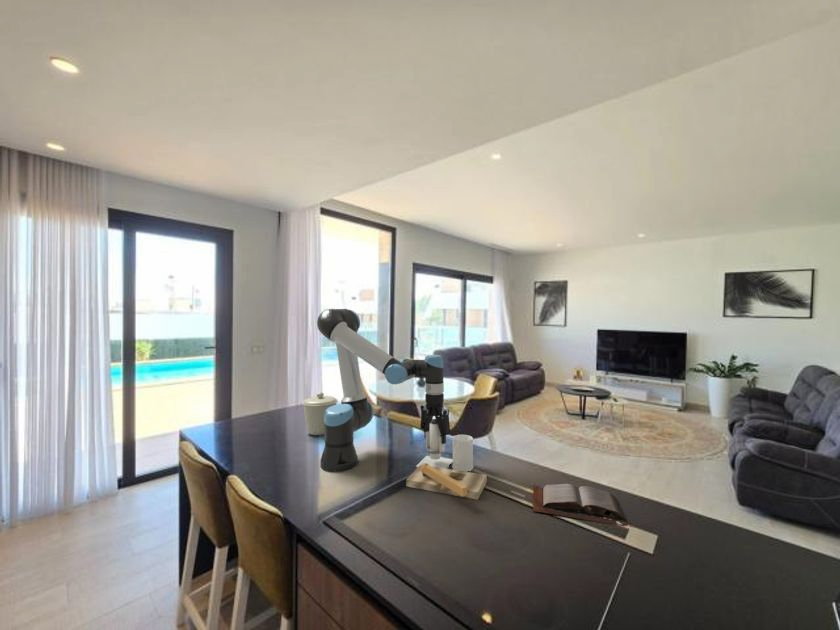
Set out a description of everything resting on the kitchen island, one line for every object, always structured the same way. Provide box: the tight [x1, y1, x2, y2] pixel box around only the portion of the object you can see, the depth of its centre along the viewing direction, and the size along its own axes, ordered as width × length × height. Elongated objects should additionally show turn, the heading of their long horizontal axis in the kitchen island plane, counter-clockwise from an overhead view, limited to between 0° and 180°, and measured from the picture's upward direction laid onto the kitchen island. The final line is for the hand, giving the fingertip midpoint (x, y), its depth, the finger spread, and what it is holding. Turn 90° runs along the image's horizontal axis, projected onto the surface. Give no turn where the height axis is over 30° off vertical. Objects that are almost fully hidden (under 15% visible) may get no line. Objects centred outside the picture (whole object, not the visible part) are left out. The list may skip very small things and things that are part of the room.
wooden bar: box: [421, 463, 467, 498], centre depth 127 cm, size 23×3×3 cm, turn 35°
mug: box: [451, 434, 475, 472], centre depth 147 cm, size 12×8×12 cm
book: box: [532, 483, 632, 528], centre depth 119 cm, size 20×28×4 cm
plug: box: [426, 418, 443, 460], centre depth 151 cm, size 7×7×16 cm
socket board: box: [405, 465, 488, 501], centre depth 134 cm, size 26×14×4 cm, turn 68°
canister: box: [301, 391, 339, 436], centre depth 193 cm, size 18×18×21 cm
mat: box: [415, 455, 453, 469], centre depth 151 cm, size 12×12×1 cm
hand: (435, 449), depth 151 cm, fingers closed on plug, 6 cm apart
